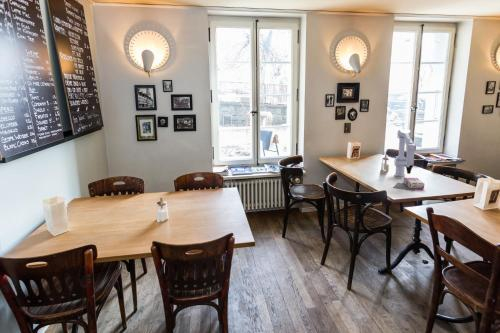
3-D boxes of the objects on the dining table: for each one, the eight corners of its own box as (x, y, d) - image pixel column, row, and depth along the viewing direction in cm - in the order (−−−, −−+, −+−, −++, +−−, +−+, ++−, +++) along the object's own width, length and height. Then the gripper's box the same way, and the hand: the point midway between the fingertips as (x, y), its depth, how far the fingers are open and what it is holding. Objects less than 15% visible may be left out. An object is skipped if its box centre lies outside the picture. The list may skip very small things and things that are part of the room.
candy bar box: (402, 183, 276) (409, 188, 260) (403, 177, 274) (410, 182, 259) (416, 183, 274) (424, 189, 258) (417, 177, 273) (424, 183, 257)
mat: (397, 182, 278) (397, 182, 278) (418, 185, 269) (418, 185, 268) (393, 187, 265) (393, 187, 265) (414, 190, 256) (414, 190, 256)
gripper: (406, 156, 276) (405, 171, 279) (403, 159, 265) (401, 174, 268) (415, 156, 272) (414, 172, 275) (412, 160, 261) (410, 176, 264)
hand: (408, 173), depth 271 cm, fingers closed
